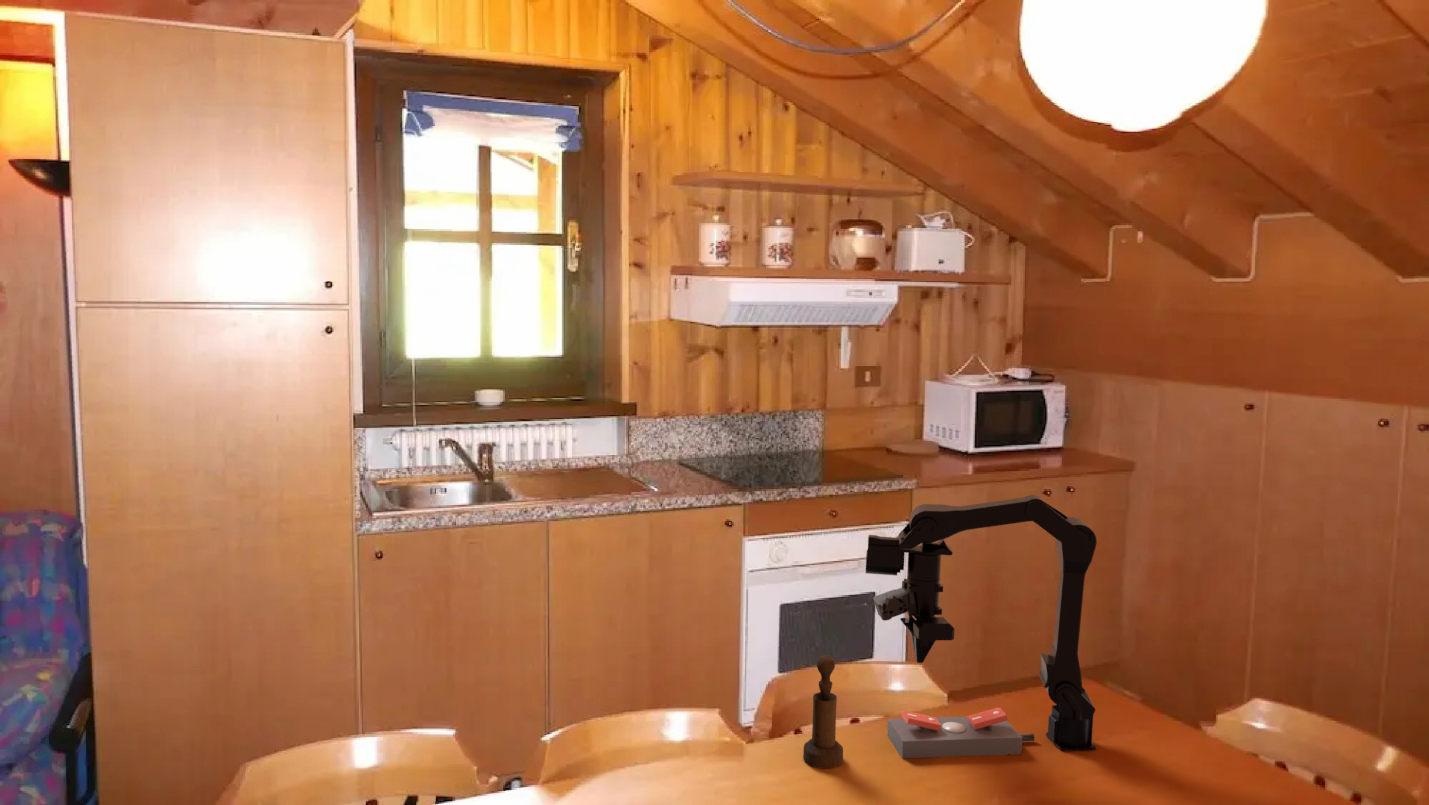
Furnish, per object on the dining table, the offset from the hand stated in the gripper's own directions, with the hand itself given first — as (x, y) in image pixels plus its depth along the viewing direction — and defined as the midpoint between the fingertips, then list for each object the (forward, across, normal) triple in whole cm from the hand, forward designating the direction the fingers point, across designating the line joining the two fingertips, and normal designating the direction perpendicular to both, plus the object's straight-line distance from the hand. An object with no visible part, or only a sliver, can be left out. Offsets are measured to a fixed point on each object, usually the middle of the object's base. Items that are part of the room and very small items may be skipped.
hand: (919, 662), depth 182 cm
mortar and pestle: (+13, +11, -19) cm, 25 cm away
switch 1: (+8, +6, -1) cm, 10 cm away
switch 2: (+8, +6, +11) cm, 15 cm away
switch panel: (+13, +6, +7) cm, 16 cm away
